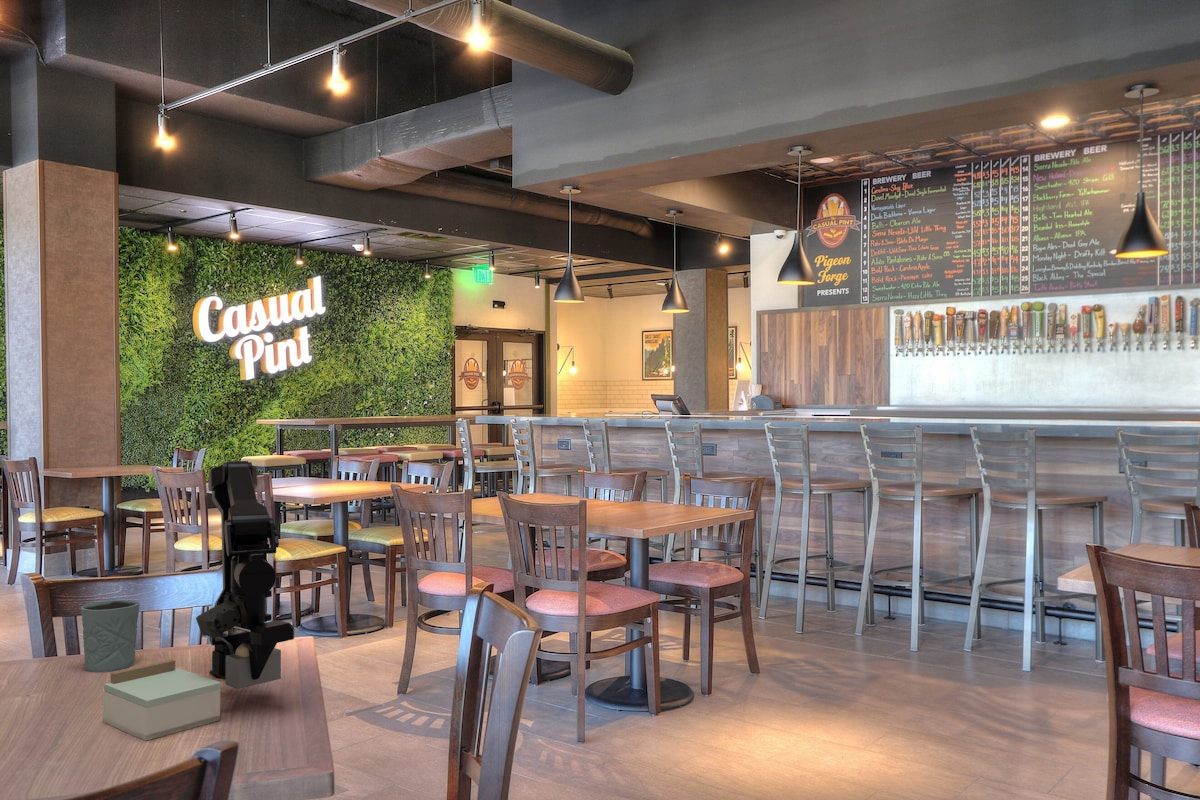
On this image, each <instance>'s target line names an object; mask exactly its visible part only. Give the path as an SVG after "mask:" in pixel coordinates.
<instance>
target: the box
mask: <svg viewBox="0 0 1200 800" xmlns="http://www.w3.org/2000/svg"><path fill="white" fill-rule="evenodd" d="M220 720H221V689H219V690H215V691H211V692H207V693H203V694H199V695H195V696H191V697H187V698H183V699H179V700H175V701H171V702H167V703H163V704H159V705H155V706H151V707H144V706H142V705H139V704H137V703H134V702H132V701H129V700H127V699H124V698H122V697H119V696H117V695H114V694H112V693H109V692H107V691H104V689H103V691H102V723H104V724H107V725H109V726H112V727H113V728H116V729H118V730H120V731H122V732H124V733H127V734H129V735H131V736H133V737H135V738H139V739H140V740H142V741H145V742H148V741H150V740H154V739H158V738H162V737H165V736H168V735H171V734H175V733H180V732H183V731H186V730H187V731H188V730H190V729H194V728H196V727H200V726H204V725H208V724H210V723H211V724H212V723H216V722H217V721H220Z"/></svg>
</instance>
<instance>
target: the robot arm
mask: <svg viewBox="0 0 1200 800" xmlns="http://www.w3.org/2000/svg"><path fill="white" fill-rule="evenodd" d="M209 470H210V471H209V472H208V475H207V476H208V477H207V478H208V480H207V483H208V492H211V500H212V502H213V504H214V505H215V507H216V508H217V510H218V511H219V512H220V516H221V517H220V519H221V557H222V558H221V560H222V561H221V564H222V566H221V567H222V590H221V592H220V593H219V596H218V597H217V599H216V601H215V603H214V606H213V607H211V608H210V609H207V610H206V611H204V612H203V613H200V614H199V615H197V616H196V618H195V619H196V623H197V625H198V628H199V631H200V633H201V635H202V637H203V636H204V637H205V636H208V639H209V643H210V644H211V646H214V648H213V649H214V650H212V652H211V653H212V654H211V656H212V657H211V670H209V674H210V675H213V676H216V677H220V678H222V679H225V680H226V655H231V654H235V652H236V649H237V648H238V647H239V646H240V645H241V644H243V645H244V646H245V647H246V648H247V649H248V650H249V658H250V669H251V676H252V679H253V680H256V679H259V677H260V675H261V673H262V671H263V669H264V667H265V665H266V663H267V661H268V659H269V657H270V655H271V653H272V651H273V649H274V648H276V646H277V644H279V643H283V642H287V641H292V640H294V639H295V626H294V625H292V623H290V622H289V621H288V622H287V621H284V620H279V619H277V620H272V613H268V612H267V598H272V597H273V596H272V595H273V594H272V592H273V591H272V588H273V587H274V586H275V583H276V579H277V575H276V571H275V568H274V567H273V566H272V565H271V564H270V563H269V562H268V555H270V554H277V548H279V546H280V543H279V534H278V528H277V524H276V523H275V520H274V518H273V517H270V514H269V511H268V508H267V507H266V506H265V505H263V504H262V503H260V502H258V498H257V495H256V488H257V487H258V467H256V466H254V465H253V462H252V461H248V460H229V461H228V460H227V461H226V462H223V463H222V464H221V465H218V466H216V467H212V468H210V469H209Z"/></svg>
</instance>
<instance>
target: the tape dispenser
mask: <svg viewBox="0 0 1200 800" xmlns="http://www.w3.org/2000/svg"><path fill="white" fill-rule="evenodd" d="M281 671H282V650H281V649H279V648H276V647H275V648H274V649H273V651H272V653H271V655H270V657H269V659H268V661H267V663H266V665H265V667H264V669H263V671H262V673H261V675H260V677H259V679H256V680H253V679H252V676H251V669H250V658H249V650H248V649H247V648H246V647H245V646H244V645H243V644H241V645H240V646H239V647H238V648H237V649H236V652H235V654H231V655H226V679H225V686H226V687H230V688H232V689H236V690H241V689H245V688H249V687H250V688H251V687H254V686H257V685H262V684H266V683H270V682H273V681H277V680H280V679H282V676H281V675H282V672H281Z"/></svg>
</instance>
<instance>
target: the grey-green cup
mask: <svg viewBox="0 0 1200 800" xmlns="http://www.w3.org/2000/svg"><path fill="white" fill-rule="evenodd" d="M80 610H81V611H80V612H81V621H82V623H81V624H82V629H83V630H82V639H83V654H84V657H83V658H84V659H83V660H84V669H85V671H86V672H90V673H106V672H107V673H108V672H109V673H111V672H116V671H121V670H126V669H129V668H130V667H131V668H132V666H134V664H135V660H136V659H135V658H136V643H137V635H138V630H137V628H138V618H139V612H140V602H139V601H137V600H130V599H114V600H103V601H97V602H91V603H87V604H84V605H82V606H81V607H80Z"/></svg>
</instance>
